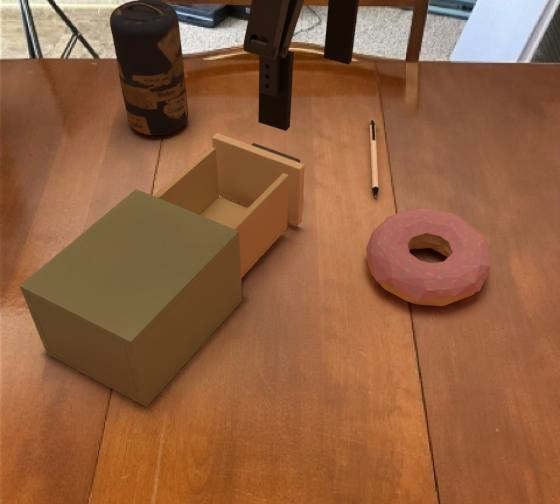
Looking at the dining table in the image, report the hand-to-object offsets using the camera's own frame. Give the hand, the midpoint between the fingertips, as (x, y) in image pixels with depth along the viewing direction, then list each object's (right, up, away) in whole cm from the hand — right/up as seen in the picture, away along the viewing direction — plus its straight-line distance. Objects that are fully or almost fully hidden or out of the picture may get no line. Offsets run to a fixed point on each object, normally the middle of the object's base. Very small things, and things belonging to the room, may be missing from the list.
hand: (307, 90), depth 63 cm
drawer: (-9, -8, +26) cm, 29 cm away
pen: (+11, +5, +38) cm, 40 cm away
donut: (+16, -13, +24) cm, 31 cm away
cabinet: (-18, -21, +17) cm, 32 cm away
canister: (-22, +13, +44) cm, 50 cm away
